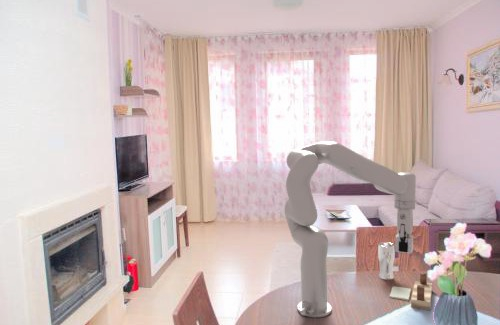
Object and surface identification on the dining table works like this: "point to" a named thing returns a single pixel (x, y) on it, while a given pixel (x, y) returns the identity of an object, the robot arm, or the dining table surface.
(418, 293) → the body
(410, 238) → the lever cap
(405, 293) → the mat
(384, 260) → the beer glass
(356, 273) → the dining table surface
